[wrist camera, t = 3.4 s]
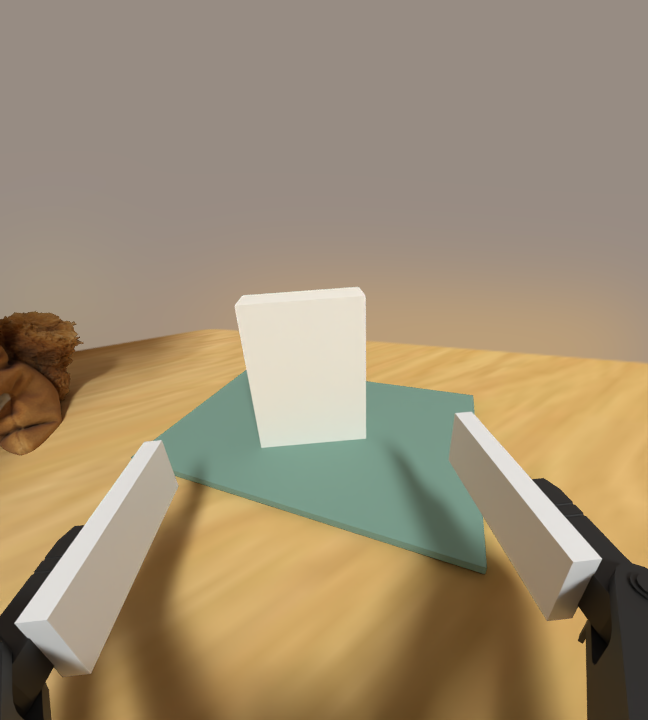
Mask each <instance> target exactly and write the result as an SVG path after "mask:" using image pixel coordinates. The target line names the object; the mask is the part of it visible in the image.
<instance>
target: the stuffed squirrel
mask: <svg viewBox="0 0 648 720" xmlns="http://www.w3.org/2000/svg"><path fill="white" fill-rule="evenodd" d="M58 318H59V316H56V315H54V314H52V313H38V312H36V311H35V312H28V313H14V314H13V315H11V316H9V317H8V318H7V317H6V316H5V317H4V319H0V446H1V447H2V448H3V449H5V450H7V451H9V452H11V453H14V454H17V455H24V454H27V453H29V452H32V451H33V450H35V449H36V448H37V447H39V446H40V445H41V444H42V443H43V442H44V441H45V440H46V439H47V438H48V437H49V436H50V435H51V434H52V433H53V432H54V431H55V430H56V428H57V427H58V426H59V425H60V424H61V422H62V416H61V406H60V400H64V398H65V395H66V394H67V393H68V392H69V391H70V390H69V389H68V388H69V382H70V373H69V374H68V373H67V372H66V367H67V366H68V365H69V363H71V362H72V361H73V360H72V359H70V358H69V357H71V356H72V353H73V352H75V350H74V347H75V346H77V345H78V344H83V342H81V341H79V340H77V339H78V338H80V337H76V336H77V335H78V334H77V333H76V332H75V331H74V328H73V325H76V324H75V322H72V323H71V322H70V321H65V322H64V321H62V320H61V319H58Z"/></svg>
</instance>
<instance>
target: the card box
mask: <svg viewBox="0 0 648 720" xmlns="http://www.w3.org/2000/svg"><path fill="white" fill-rule="evenodd" d="M235 311H236V316H237V322H238V327H239V332H240V338H241V343H242V348H243V354H244V359H245V364H246V369H247V375H248V380H249V385H250V391H251V396H252V401H253V406H254V412H255V417H256V422H257V428H258V433H259V438H260V443H261V448H265V447H277V446H288V445H299V444H311V443H322V442H333V441H344V440H356V439H366V296H365V294H364V293H363V292H362V291H361V289H360V288H359V287H351V288H337V289H323V290H310V291H297V292H283V293H270V294H257V295H243V296H242V297H241V298H240V299H239V301H238V302H237V303H236V304H235Z"/></svg>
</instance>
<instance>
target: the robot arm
mask: <svg viewBox="0 0 648 720" xmlns="http://www.w3.org/2000/svg"><path fill="white" fill-rule="evenodd" d="M448 460H449V462H450V463H451V465H452V466H453V468H454V470H455V471H456V473H457V475H458V476H459V478H460V480H461V481H462V483H463V484H464V486H465V488H466V489H467V491H468V493H469V494H470V496H471V498H472V499H473V501H474V502H475V504H476V506H477V507H478V509H479V511H480V512H481V514H482V516H483V517H484V519H485V520H486V522H487V524H488V525H489V527H490V529H491V530H492V532H493V534H494V535H495V537H496V538H497V540H498V542H499V543H500V545H501V547H502V548H503V550H504V552H505V553H506V555H507V556H508V558H509V560H510V561H511V563H512V565H513V566H514V568H515V569H516V571H517V573H518V574H519V576H520V578H521V579H522V581H523V583H524V584H525V586H526V587H527V589H528V591H529V592H530V594H531V596H532V597H533V599H534V601H535V602H536V604H537V605H538V607H539V609H540V610H541V612H542V614H543V615H544V617H545V619H546V620H547V621H551V620H560V619H569V618H573V616H574V614H575V612H576V610H577V608H578V606H579V608H580V609H581V611H582V612H583V613H584V615H585V616H586V618H587V619H588V620H587V622H586V624H585V625H584V627H583V629H582V631H581V633H580V635H579V639H578V641H579V642H581V643H583V642H584V641H585V639H586V672H587V720H648V569H647V568H645V567H642V566H639V565H636V564H632V563H631V562H630V561H629V560H628V559H627V558H626V557H625V556H624V555H623V554H622V553H621V552H620V551H619V550H618V549H617V548H616V547H615V546H614V545H613V544H612V543H611V542H610V540H609V539H608V538H607V537H606V536H605V535H604V534H603V533H602V532H601V531H600V530H599V529H598V528H597V527H596V526H595V525H594V524H593V523H592V522H591V521H590V520H589V519H588V518H587V517H586V516H584V515H583V512H582V511H581V510H580V509H579V508H578V507H577V506H576V505H573V502H572V501H571V500H570V499H569V498H568V497H567V496H566V495H565V494H564V493H563V492H562V491H561V490H560V489H559V488H558V487H556V486H555V485H553V484H552V483H550V482H549V481H547V480H546V479H544V478H541V479H531V478H530V477H529V476H528V475H527V474H526V472H525V471H524V470H523V469H522V468H521V467H520V466H519V465H518V463H517V462H516V461H515V460H514V459H513V458H512V457H511V456H510V454H509V453H508V452H507V451H506V450H505V449H504V448H503V447H502V445H501V444H500V443H499V442H498V441H497V440H496V439H495V438H494V436H493V435H492V434H491V433H490V432H489V431H488V430H487V429H486V427H485V426H484V425H483V424H482V423H481V422H480V421H479V420H478V418H477V417H476V416H475V415H474V414H473V413H472V412H462V413H455V416H454V424H453V431H452V438H451V445H450V452H449V459H448ZM177 488H178V483H177V481H176V478H175V475H174V472H173V470H172V467H171V464H170V461H169V459H168V456H167V453H166V450H165V447H164V445H163V442H162V440H159V441H148V442H144V443H143V444H142V446H141V447H140V448H139V450H138V451H137V453H136V454H135V455H134V457H133V458H132V460H131V461H130V462H129V464H128V465H127V467H126V468H125V469H124V471H123V472H122V474H121V475H120V476H119V478H118V479H117V481H116V482H115V483H114V485H113V486H112V488H111V489H110V490H109V492H108V493H107V495H106V496H105V497H104V499H103V500H102V502H101V503H100V504H99V506H98V507H97V509H96V510H95V511H94V513H93V514H92V516H91V517H90V518H89V520H88V521H87V523H86V524H85V525H81V526H74V527H73V528H72V529H71V530H70V531H68V532H67V533H66V534H65V535H64V536H63V537H62V538H60V539H59V540H58V541H57V542H56V544H55V545H54V546H53V548H52V549H51V550H50V552H49V553H48V554H47V555H46V557H45V560H44V561H42V562H41V563H40V565H39V566H38V567H37V569H36V570H35V571H34V574H33V575H31V576H30V578H29V579H28V580H27V582H26V583H25V584H24V586H23V587H22V588H21V589H20V591H19V592H18V593H17V595H16V596H15V597H14V599H13V600H12V601H11V603H10V604H9V605H8V606H7V608H6V609H5V610H4V612H3V613H2V614H1V616H0V720H51V710H50V698H49V689H48V687H47V685H46V683H45V682H46V680H47V678H48V676H49V675H50V673H51V671H52V669H53V667H54V668H55V669H56V670H57V671H58V672H59V674H60V675H61V676H62V677H69V676H77V675H86V674H91V672H92V670H93V668H94V666H95V664H96V662H97V660H98V657H99V655H100V653H101V651H102V649H103V647H104V645H105V642H106V640H107V638H108V636H109V634H110V632H111V630H112V627H113V625H114V623H115V621H116V619H117V617H118V615H119V612H120V610H121V608H122V606H123V604H124V602H125V600H126V597H127V595H128V593H129V591H130V589H131V587H132V585H133V582H134V580H135V578H136V576H137V574H138V572H139V570H140V567H141V565H142V563H143V561H144V559H145V557H146V555H147V552H148V550H149V548H150V546H151V544H152V542H153V540H154V537H155V535H156V533H157V531H158V529H159V527H160V525H161V522H162V520H163V518H164V516H165V514H166V512H167V510H168V507H169V505H170V503H171V501H172V499H173V497H174V495H175V492H176V490H177Z"/></svg>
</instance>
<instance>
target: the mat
mask: <svg viewBox="0 0 648 720" xmlns="http://www.w3.org/2000/svg"><path fill="white" fill-rule="evenodd" d="M462 412H472V413H473V414H474V402H473V395H466V394H458V393H451V392H443V391H435V390H428V389H420V388H413V387H405V386H398V385H390V384H382V383H375V382H367V381H366V439H356V440H344V441H333V442H322V443H311V444H299V445H288V446H277V447H265V448H261V443H260V438H259V433H258V428H257V422H256V417H255V412H254V406H253V401H252V396H251V391H250V385H249V380H248V375H247V370H245V371H244V372H243V373H241V374H240V375H239V376H238V377H236V378H235V379H234V380H232V381H231V382H230V383H228V384H227V385H226V386H224V387H223V388H222V389H220V390H219V391H218V392H217V393H215V394H214V395H213V396H211V397H210V398H209V399H207V400H206V401H205V402H203V403H202V404H201V405H199V406H198V407H197V408H195V409H194V410H193V411H192V412H190V413H189V414H188V415H186V416H185V417H184V418H182V419H181V420H180V421H178V422H177V423H176V424H174V425H173V426H172V427H170V428H169V429H168V430H167V431H165V432H164V433H163V434H161V435H160V436H159V437H157V438H156V439H155V440H153V441H159V440H162V442H163V445H164V447H165V450H166V453H167V456H168V459H169V461H170V464H171V467H172V470H173V472H174V475H175V476H178V477H181V478H184V479H187V480H190V481H193V482H196V483H200V484H203V485H206V486H209V487H212V488H215V489H218V490H222V491H225V492H228V493H231V494H234V495H237V496H240V497H244V498H247V499H250V500H253V501H256V502H259V503H262V504H266V505H269V506H272V507H275V508H278V509H281V510H284V511H288V512H291V513H294V514H297V515H300V516H303V517H306V518H310V519H313V520H316V521H319V522H322V523H325V524H328V525H331V526H335V527H338V528H341V529H344V530H347V531H350V532H353V533H357V534H360V535H363V536H366V537H369V538H372V539H375V540H379V541H382V542H385V543H388V544H391V545H394V546H397V547H401V548H404V549H407V550H410V551H413V552H416V553H419V554H423V555H426V556H429V557H432V558H435V559H438V560H441V561H445V562H448V563H451V564H454V565H457V566H460V567H463V568H466V569H470V570H473V571H476V572H479V573H482V574H485V573H486V570H487V562H486V550H485V538H484V525H483V516H482V514H481V512H480V511H479V509H478V507H477V506H476V504H475V502H474V501H473V499H472V498H471V496H470V494H469V493H468V491H467V489H466V488H465V486H464V484H463V483H462V481H461V480H460V478H459V476H458V475H457V473H456V471H455V470H454V468H453V466H452V465H451V463H450V462H449V460H448V459H449V452H450V445H451V438H452V431H453V424H454V416H455V413H462ZM474 415H475V414H474ZM133 457H134V456H132V457H131V458H133Z"/></svg>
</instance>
